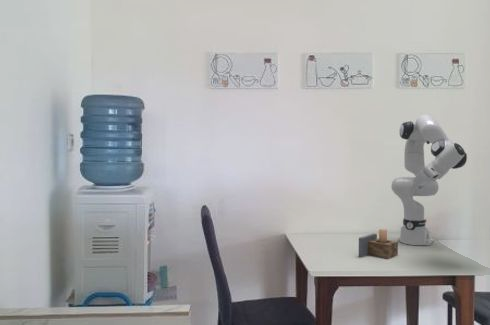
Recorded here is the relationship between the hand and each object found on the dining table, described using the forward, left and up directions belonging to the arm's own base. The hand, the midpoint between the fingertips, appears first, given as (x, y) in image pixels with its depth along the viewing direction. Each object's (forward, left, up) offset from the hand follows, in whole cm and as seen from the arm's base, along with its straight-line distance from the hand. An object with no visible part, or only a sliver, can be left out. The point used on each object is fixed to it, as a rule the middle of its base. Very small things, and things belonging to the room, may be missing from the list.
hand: (415, 188), depth 222 cm
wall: (+13, -19, -35) cm, 42 cm away
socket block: (+9, -13, -35) cm, 38 cm away
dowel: (+9, -13, -33) cm, 36 cm away
